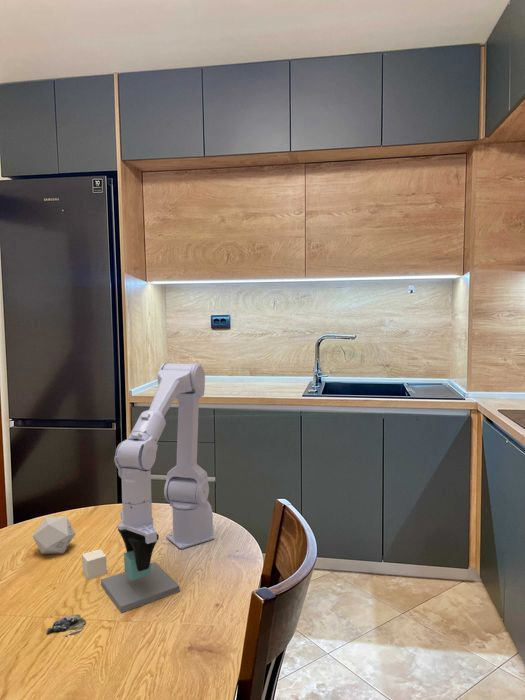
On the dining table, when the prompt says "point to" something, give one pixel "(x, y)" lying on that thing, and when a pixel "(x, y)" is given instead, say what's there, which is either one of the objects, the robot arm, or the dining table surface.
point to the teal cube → (134, 567)
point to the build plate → (139, 588)
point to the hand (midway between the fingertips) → (138, 564)
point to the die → (54, 535)
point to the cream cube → (94, 564)
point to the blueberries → (67, 625)
